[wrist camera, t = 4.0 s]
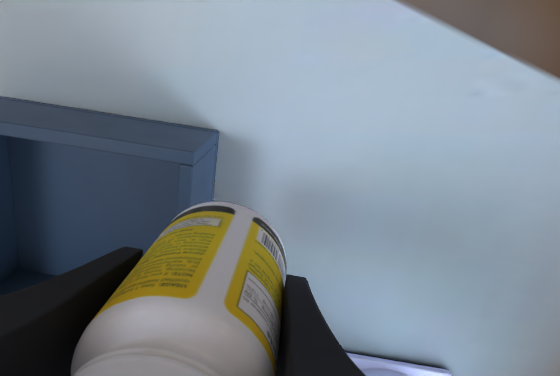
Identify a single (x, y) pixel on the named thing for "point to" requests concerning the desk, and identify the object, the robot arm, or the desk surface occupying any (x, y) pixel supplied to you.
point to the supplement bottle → (194, 302)
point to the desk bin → (90, 185)
